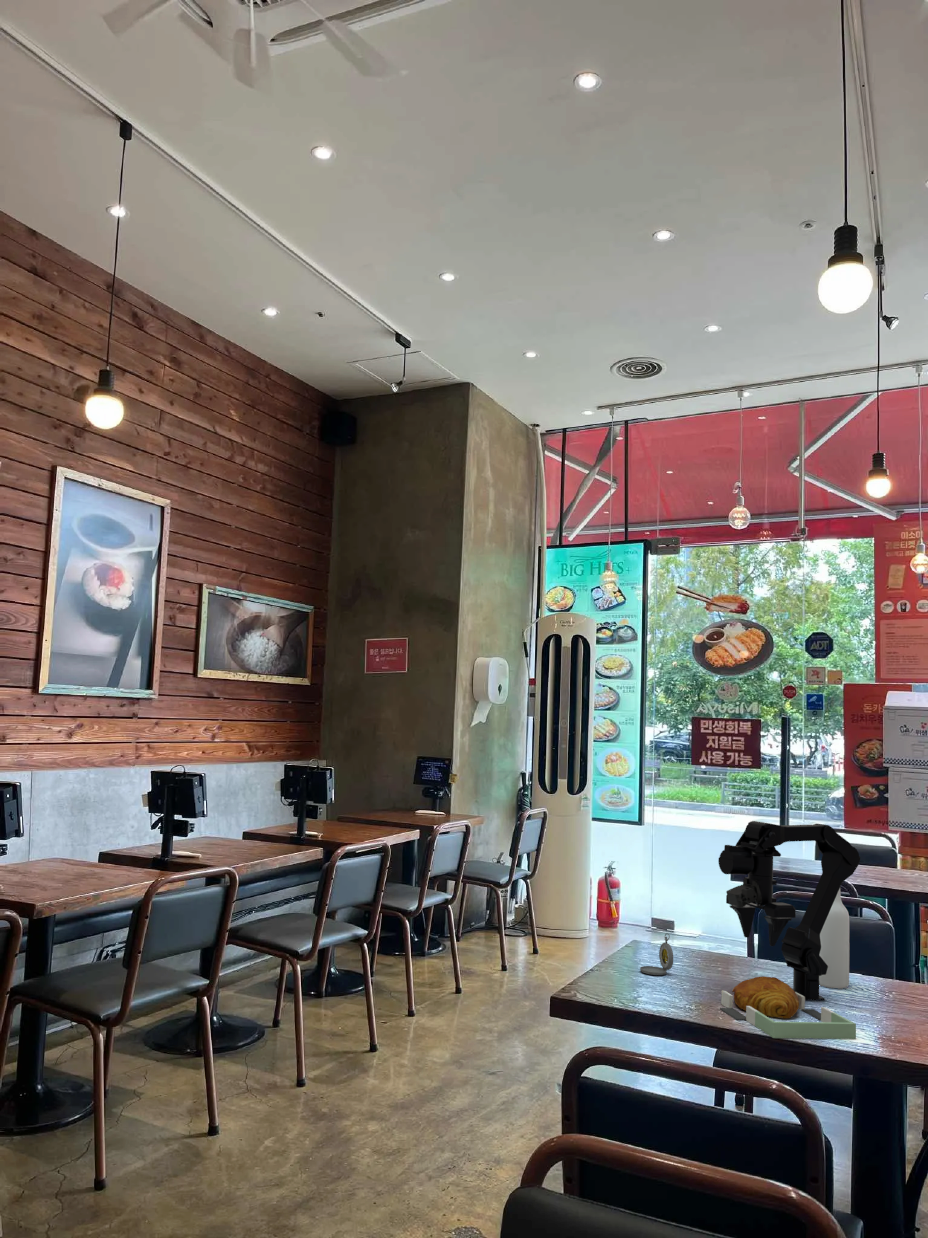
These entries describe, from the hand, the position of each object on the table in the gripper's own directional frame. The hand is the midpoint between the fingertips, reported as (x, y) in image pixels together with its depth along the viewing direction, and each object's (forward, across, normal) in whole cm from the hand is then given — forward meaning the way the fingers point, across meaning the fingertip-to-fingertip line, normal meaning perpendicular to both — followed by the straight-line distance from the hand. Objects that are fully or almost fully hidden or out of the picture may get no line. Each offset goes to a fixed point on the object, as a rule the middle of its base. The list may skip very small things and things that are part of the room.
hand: (759, 941), depth 218 cm
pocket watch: (+14, -25, -11) cm, 31 cm away
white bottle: (+13, -9, +30) cm, 34 cm away
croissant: (+14, +7, -4) cm, 16 cm away
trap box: (+13, +16, -5) cm, 21 cm away
